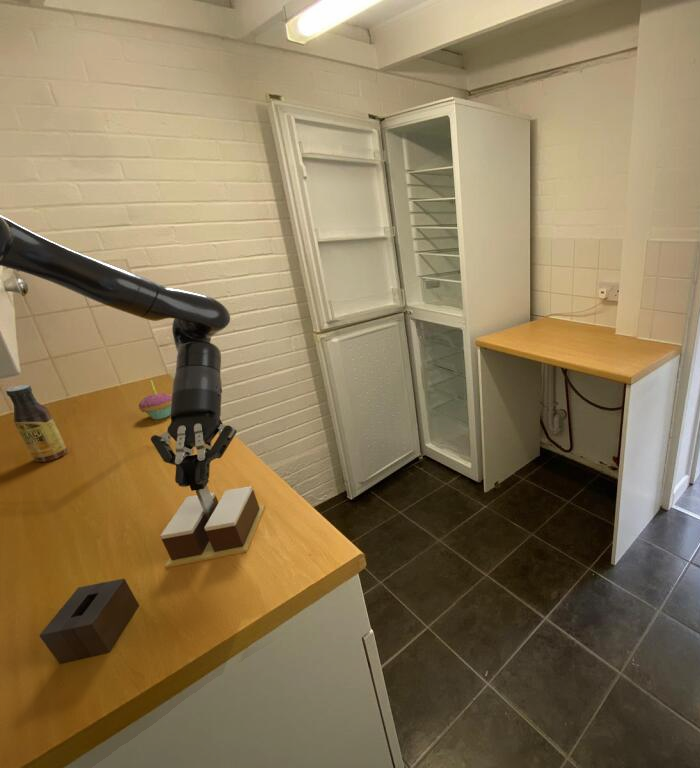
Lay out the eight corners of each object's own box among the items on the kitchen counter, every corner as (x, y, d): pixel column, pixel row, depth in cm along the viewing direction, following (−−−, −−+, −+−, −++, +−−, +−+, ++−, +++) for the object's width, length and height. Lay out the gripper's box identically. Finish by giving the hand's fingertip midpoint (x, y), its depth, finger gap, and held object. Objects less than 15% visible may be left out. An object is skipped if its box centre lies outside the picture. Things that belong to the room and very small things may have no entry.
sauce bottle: (28, 464, 106) (-14, 393, 98) (52, 450, 112) (14, 383, 104) (54, 463, 106) (15, 392, 99) (77, 449, 112) (41, 382, 104)
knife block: (95, 614, 66) (78, 587, 63) (139, 605, 67) (124, 578, 65) (59, 664, 59) (38, 635, 56) (109, 652, 60) (91, 624, 58)
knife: (213, 519, 81) (186, 455, 75) (224, 517, 82) (199, 453, 76) (207, 530, 79) (179, 464, 73) (218, 528, 79) (192, 462, 73)
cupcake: (151, 412, 132) (136, 377, 127) (182, 407, 134) (169, 373, 130) (139, 425, 124) (123, 388, 119) (173, 419, 127) (159, 383, 122)
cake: (196, 519, 85) (185, 494, 83) (265, 506, 88) (257, 482, 86) (165, 568, 74) (152, 540, 71) (246, 552, 77) (236, 525, 74)
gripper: (142, 392, 75) (132, 489, 69) (228, 382, 78) (225, 474, 72) (167, 406, 82) (160, 495, 76) (245, 396, 85) (244, 481, 79)
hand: (192, 484), depth 74 cm, fingers closed on knife, 2 cm apart
